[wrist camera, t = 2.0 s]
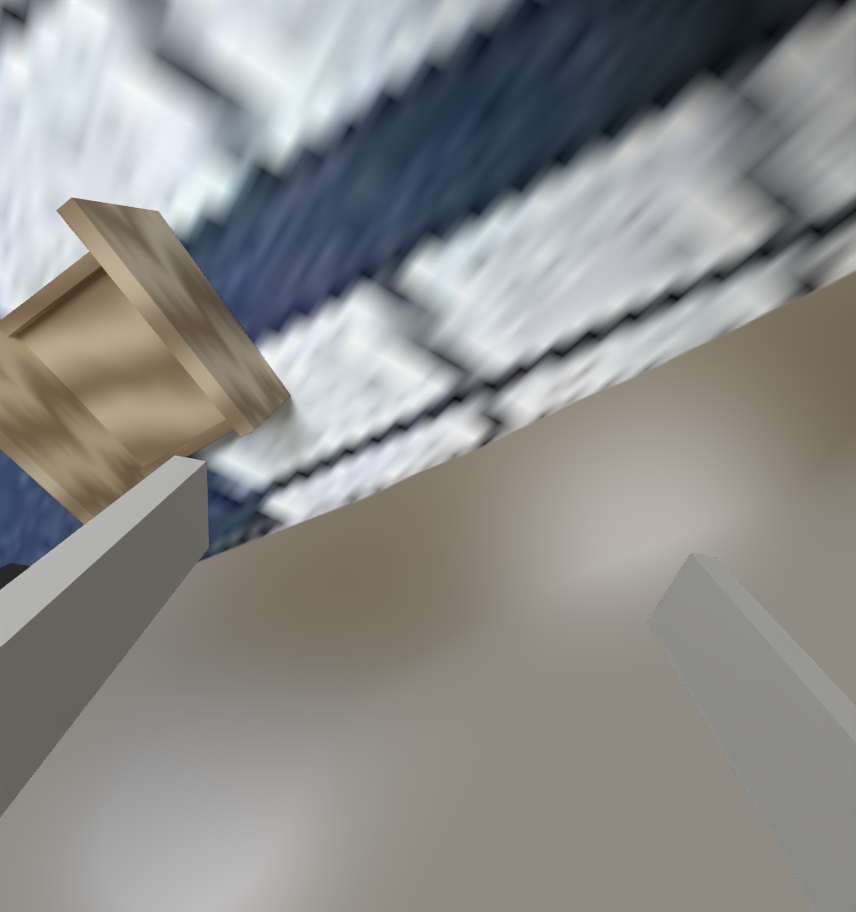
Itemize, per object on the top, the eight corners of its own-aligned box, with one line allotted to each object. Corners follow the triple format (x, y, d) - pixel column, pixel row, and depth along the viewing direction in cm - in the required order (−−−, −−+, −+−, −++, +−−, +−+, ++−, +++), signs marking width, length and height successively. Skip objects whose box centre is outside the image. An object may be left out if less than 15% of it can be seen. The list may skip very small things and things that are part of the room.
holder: (4, 328, 32) (-111, 348, 25) (158, 211, 28) (71, 197, 21) (147, 476, 38) (85, 525, 31) (290, 395, 34) (255, 429, 27)
